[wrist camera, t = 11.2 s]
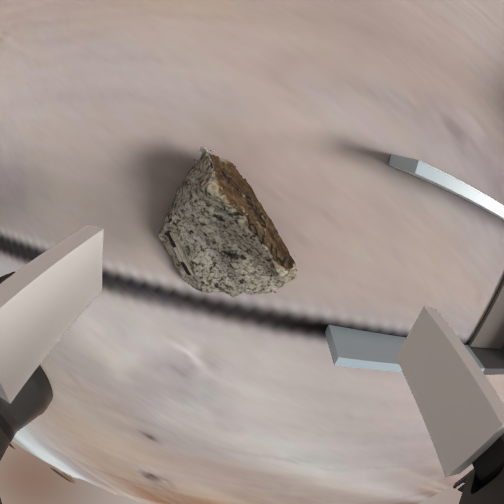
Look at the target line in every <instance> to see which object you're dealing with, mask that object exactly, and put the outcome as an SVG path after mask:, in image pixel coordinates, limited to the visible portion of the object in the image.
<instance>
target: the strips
mask: <svg viewBox="0 0 504 504" xmlns="http://www.w3.org/2000/svg"><path fill="white" fill-rule="evenodd" d="M388 165H389V166H392V167H394V168H397V169H399V170H401V171H404V172H406V173H409V174H411V175H413V176H416V177H418V178H420V179H423V180H425V181H427V182H429V183H432V184H434V185H436V186H438V187H440V188H442V189H445V190H447V191H449V192H451V193H453V194H455V195H457V196H459V197H461V198H463V199H465V200H467V201H469V202H471V203H473V204H475V205H477V206H478V207H480V208H482V209H484V210H486V211H488V212H490V213H491V214H493V215H495V216H497V217H498V218H500V219H502V220H504V205H502V204H500V203H499V202H497V201H495V200H494V199H492V198H490V197H489V196H487V195H485V194H484V193H482V192H480V191H478V190H477V189H475V188H473V187H471V186H469V185H467V184H466V183H464V182H462V181H460V180H458V179H456V178H454V177H452V176H450V175H448V174H446V173H444V172H442V171H440V170H438V169H436V168H434V167H432V166H430V165H428V164H426V163H424V162H422V161H419V160H415V159H411V158H406V157H402V156H397V155H392V154H391V157H390V161H389V164H388ZM325 334H326V337H327V341H328V345H329V348H330V352H331V355H332V359H333V363H334V365H336V366H344V367H352V368H361V369H370V370H381V371H393V372H403V371H402V369H401V367H400V365H399V363H398V361H397V359H396V357H395V356H396V354H397V353H398V351H399V349H400V348H401V346H402V344H403V343H404V341H405V339H406V338H407V337H400V336H394V335H387V334H381V333H374V332H368V331H362V330H356V329H350V328H345V327H339V326H334V325H328V327H327V329H326V331H325ZM464 346H465V347H466V349H467V350H468V351H469V353H470V354H471V356H472V357H473V358H474V360H475V361H476V363H477V364H478V365H479V367H480V368H481V370H482V371H484V370H485V368H484V366H483V365H482V364H481V362H480V361H479V359H478V358H477V357H476V355H475V354H474V353H473V351H472V350H471V349H470V347H469V346H468V345H464Z"/></svg>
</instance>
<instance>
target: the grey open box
mask: <svg viewBox="0 0 504 504" xmlns="http://www.w3.org/2000/svg"><path fill="white" fill-rule="evenodd" d="M468 346H469V347H470V349H471V350H472V351H473V353H474V354H475V355H476V357H477V358H478V359H479V361H480V362H481V364H482V365H483V366H484V368H485V370H484V371H483V373H484V374H485V375H494V374H504V279H503V281H502V283H501V285H500V287H499V289H498V292H497V294H496V296H495V298H494V300H493V301H492V303H491V305H490V307H489V309H488V311H487V313H486V315H485V317H484V318H483V320H482V322H481V324H480V325H479V327H478V329H477V331H476V332H475V334H474V336H473V337H472V339H471V341H470V342H469V344H468Z"/></svg>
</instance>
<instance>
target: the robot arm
mask: <svg viewBox="0 0 504 504" xmlns="http://www.w3.org/2000/svg"><path fill="white" fill-rule="evenodd" d="M103 231H104V229H102V228H98V227H95V226H91V225H86V226H84V227H83V228H81V229H79V230H78V231H76V232H75V233H73V234H71V235H70V236H68V237H67V238H65V239H64V240H62V241H60V242H59V243H57V244H56V245H54V246H53V247H51V248H50V249H48V250H47V251H45V252H44V253H42V254H41V255H39V256H38V257H37V258H35V259H34V260H32V261H31V262H29V263H28V264H26V265H25V266H24V267H22V268H21V269H20V270H18V271H17V272H12V273H9V274H7V275H4V276H2V277H0V460H1V458H2V457H3V455H4V453H5V451H6V449H7V448H8V446H9V444H10V442H11V441H12V439H13V437H14V436H15V434H16V432H17V431H19V430H20V429H21V428H23V427H24V426H25V425H27V424H28V423H30V422H31V421H32V420H34V419H35V418H36V417H38V416H39V415H41V414H42V413H44V411H45V410H46V409H47V407H48V405H49V404H50V402H51V401H52V397H53V393H52V388H51V385H50V383H49V381H48V379H47V377H46V375H45V373H44V371H43V370H42V368H41V367H40V363H41V362H42V361H43V360H44V358H45V357H46V356H47V355H48V353H49V352H50V351H51V350H52V348H53V347H54V346H55V345H56V343H57V342H58V341H59V340H60V339H61V337H62V336H63V335H64V334H65V333H66V331H67V330H68V329H69V328H70V327H71V325H72V324H73V323H74V322H75V321H76V320H77V318H78V317H79V316H80V315H81V314H82V313H83V312H84V310H85V309H86V308H87V307H88V306H89V305H90V304H91V302H92V301H93V300H94V299H95V298H96V297H97V296H98V295H99V294H100V292H101V291H102V254H103ZM395 357H396V359H397V361H398V363H399V365H400V367H401V369H402V371H403V374H404V376H405V378H406V380H407V382H408V385H409V387H410V389H411V391H412V393H413V396H414V398H415V400H416V403H417V405H418V407H419V410H420V412H421V414H422V417H423V419H424V421H425V424H426V426H427V429H428V431H429V434H430V436H431V439H432V441H433V444H434V447H435V449H436V452H437V454H438V457H439V460H440V463H441V465H442V468H443V471H444V474H445V477H448V476H452V475H456V474H459V473H461V472H462V471H463V470H465V469H466V468H467V467H468V466H469V465H471V464H473V467H474V469H473V470H471V471H470V472H469V473H468V474H466V475H465V476H464V477H463V478H461V479H460V480H459V481H458V482H456V483H455V484H454V486H453V488H456V487H457V486H459V485H460V484H461V483H465V484H464V485H462V486H461V487H460V488H459V489H458V490H459V491H461V492H463V493H462V496H461V499H460V502H459V504H504V404H503V402H502V401H501V399H500V397H499V396H498V394H497V393H496V391H495V389H494V388H493V386H492V385H491V383H490V382H489V380H488V379H487V377H486V376H485V374H484V373H483V371H482V370H481V368H480V367H479V365H478V364H477V363H476V361H475V360H474V358H473V357H472V356H471V354H470V353H469V351H468V350H467V349H466V347H465V346H464V344H463V343H462V342H461V340H460V339H459V338H458V336H457V335H456V334H455V332H454V331H453V330H452V328H451V327H450V326H449V325H448V323H447V322H446V321H445V319H444V318H443V317H442V316H441V314H440V313H439V312H438V311H437V309H434V308H429V307H425V306H424V307H423V309H422V311H421V313H420V314H419V316H418V318H417V320H416V322H415V324H414V325H413V327H412V329H411V331H410V332H409V334H408V336H407V338H406V339H405V341H404V343H403V344H402V346H401V348H400V349H399V351H398V353H397V354H396V356H395ZM0 504H2V502H1V499H0Z"/></svg>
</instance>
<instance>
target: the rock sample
mask: <svg viewBox="0 0 504 504" xmlns="http://www.w3.org/2000/svg"><path fill="white" fill-rule="evenodd" d="M200 151H201V152H202V154H201V158H200V161H199V162H198V163H197V164H195V165H194V166H193V167H192V169H191V170H190V171H189V173H188V175H187V176H186V179H185V180H184V181H183V183H182V186H181V187H180V188H179V189H178V190H177V192H176V197H175V199H174V202H173V205H172V208H171V210H170V212H169V213H168V214H167V216H166V218H165V221H164V225H163V227H162V229H161V230H160V232H159V234H158V237H159V239H160V240H161V241H162V243H163V245H164V247H165V249H166V250H167V251H168V253H169V254H170V256H171V257H172V259H173V264H174V265H175V266H176V268H177V269H178V271H179V273H180V276H181V277H182V278H183V279H184V280H185V281H187V282H188V284H190V285H191V286H192V287H193V288H195V289H197V290H200V291H201V292H208V293H210V292H224V293H227V294H229V295H230V296H232V297H233V296H237V295H239V294H241V293H242V292H245V293H248V294H251V295H252V294H260V293H265V294H266V293H269V292H272V291H274V290H275V289H277V288H280V287H282V286H283V285H284V284H285V283H287V282H289V281H291V280H293V279H295V277H296V272H297V270H296V265H295V262H294V260H293V259H292V257H291V256H290V254H289V251H288V249H287V247H286V246H285V244H284V243H283V241H282V239H281V237H280V236H279V235H278V231H277V230H276V228H275V226H274V224H273V222H272V220H271V219H270V218H269V217H268V215H267V214H266V212H265V210H264V209H263V207H262V205H261V203H260V202H259V201H258V200H257V198H256V195H255V194H254V192H253V190H252V188H251V186H250V185H249V184H248V183H247V181H246V179H243V178H242V176H241V175H240V174H239V172H238V170H237V169H236V166H234V164H233V163H230V161H228V160H225V159H223V158H219V157H217V156H215V155H211V154H210V153H208V149H207V148H206V147H201V148H200ZM210 151H211V150H210ZM214 151H215V150H214ZM194 160H195V159H194ZM197 161H198V160H197ZM169 206H170V205H169ZM168 210H169V208H168ZM274 292H275V291H274ZM275 293H276V292H275Z"/></svg>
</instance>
